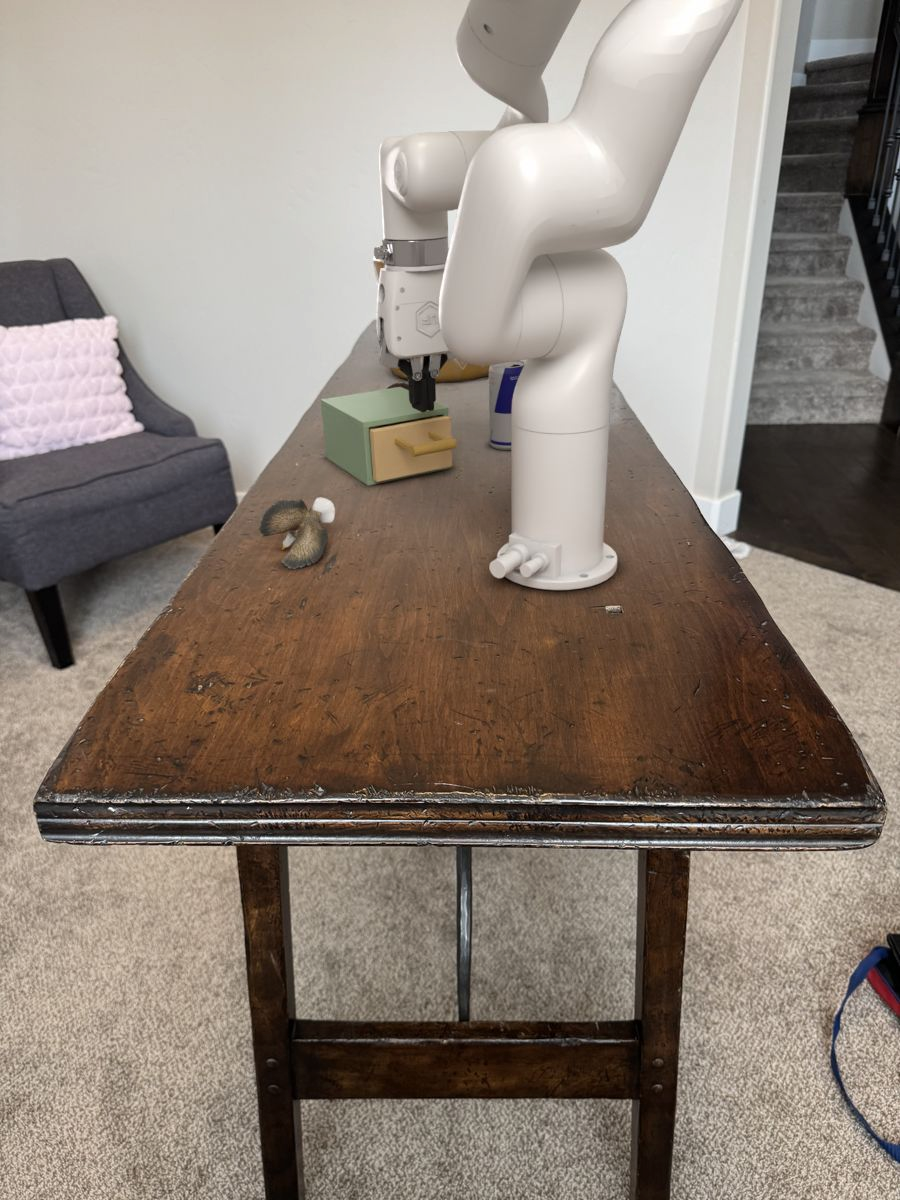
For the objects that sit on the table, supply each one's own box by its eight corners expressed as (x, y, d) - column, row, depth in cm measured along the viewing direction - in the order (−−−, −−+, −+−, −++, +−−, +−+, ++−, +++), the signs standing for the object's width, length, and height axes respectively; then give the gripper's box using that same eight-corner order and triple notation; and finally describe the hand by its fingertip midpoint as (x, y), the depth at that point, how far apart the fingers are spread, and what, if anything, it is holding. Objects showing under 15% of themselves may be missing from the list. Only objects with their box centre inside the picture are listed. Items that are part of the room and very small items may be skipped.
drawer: (475, 478, 117) (474, 428, 113) (397, 495, 112) (394, 443, 109) (408, 442, 132) (405, 397, 129) (337, 456, 127) (332, 409, 124)
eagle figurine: (264, 527, 103) (243, 544, 94) (293, 475, 101) (274, 487, 92) (320, 561, 104) (305, 581, 95) (351, 510, 102) (338, 526, 93)
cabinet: (450, 468, 123) (448, 407, 120) (367, 486, 118) (362, 422, 114) (403, 443, 135) (400, 386, 131) (326, 457, 130) (320, 399, 126)
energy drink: (523, 451, 129) (523, 367, 124) (487, 449, 131) (485, 367, 125) (527, 440, 134) (528, 359, 129) (492, 439, 135) (491, 359, 130)
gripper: (371, 263, 98) (382, 425, 106) (488, 252, 104) (488, 406, 113) (344, 256, 104) (356, 411, 112) (456, 246, 110) (459, 394, 118)
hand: (422, 408), depth 112 cm, fingers closed
